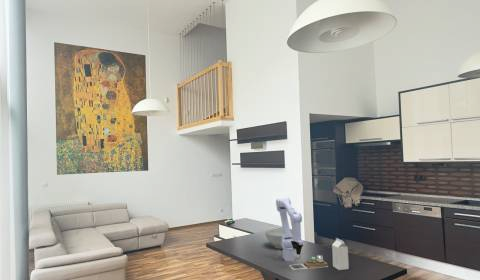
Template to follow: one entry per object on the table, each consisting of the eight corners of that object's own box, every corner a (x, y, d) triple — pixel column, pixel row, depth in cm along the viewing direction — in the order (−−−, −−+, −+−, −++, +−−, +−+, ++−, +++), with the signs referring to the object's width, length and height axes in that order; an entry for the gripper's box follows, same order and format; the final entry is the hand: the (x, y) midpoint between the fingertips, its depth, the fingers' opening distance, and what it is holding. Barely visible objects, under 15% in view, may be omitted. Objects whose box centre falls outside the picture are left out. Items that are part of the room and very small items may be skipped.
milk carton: (338, 271, 194) (337, 241, 195) (333, 268, 201) (331, 238, 202) (348, 270, 196) (347, 240, 197) (342, 267, 203) (341, 237, 204)
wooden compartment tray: (303, 266, 205) (302, 261, 205) (323, 264, 208) (322, 259, 208) (307, 270, 198) (307, 265, 198) (328, 268, 200) (328, 263, 201)
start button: (311, 261, 211) (310, 256, 212) (314, 261, 212) (314, 256, 212) (312, 262, 209) (312, 258, 209) (316, 262, 209) (315, 257, 210)
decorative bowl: (258, 247, 253) (258, 232, 254) (277, 240, 273) (277, 227, 274) (286, 253, 235) (285, 237, 236) (304, 245, 255) (303, 230, 256)
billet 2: (315, 264, 205) (315, 254, 206) (321, 264, 206) (321, 254, 206) (318, 266, 201) (318, 256, 202) (324, 266, 202) (323, 256, 202)
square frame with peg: (307, 262, 213) (307, 258, 213) (315, 261, 214) (315, 257, 214) (311, 265, 207) (311, 261, 207) (320, 264, 208) (319, 260, 208)
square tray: (288, 267, 205) (288, 264, 205) (301, 265, 207) (301, 263, 207) (293, 271, 196) (293, 269, 196) (307, 270, 198) (306, 268, 198)
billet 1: (293, 257, 204) (293, 247, 204) (299, 257, 204) (298, 247, 205) (295, 259, 200) (295, 249, 200) (301, 258, 200) (301, 249, 201)
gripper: (286, 230, 209) (287, 250, 208) (294, 235, 195) (295, 257, 194) (296, 229, 211) (297, 249, 210) (305, 234, 197) (306, 256, 196)
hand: (297, 253), depth 202 cm, fingers closed on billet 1, 4 cm apart
